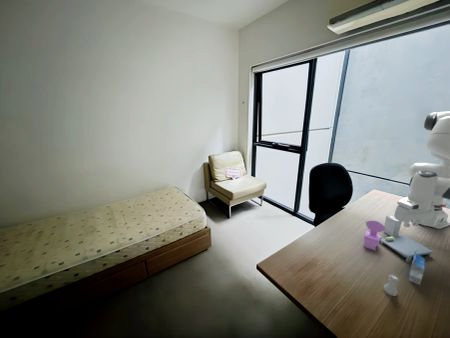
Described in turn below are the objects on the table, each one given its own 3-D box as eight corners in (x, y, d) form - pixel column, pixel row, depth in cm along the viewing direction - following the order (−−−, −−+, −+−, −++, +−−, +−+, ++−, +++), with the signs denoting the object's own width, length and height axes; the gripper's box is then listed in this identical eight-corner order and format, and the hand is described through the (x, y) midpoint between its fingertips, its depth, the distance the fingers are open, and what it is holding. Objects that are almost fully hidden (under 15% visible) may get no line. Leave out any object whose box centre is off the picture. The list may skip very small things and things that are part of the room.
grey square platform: (400, 239, 110) (402, 233, 109) (434, 259, 95) (436, 253, 94) (376, 242, 107) (377, 237, 106) (406, 263, 92) (408, 257, 91)
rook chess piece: (380, 287, 80) (384, 272, 78) (389, 286, 80) (394, 271, 78) (389, 297, 76) (394, 281, 74) (399, 296, 76) (405, 280, 74)
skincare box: (398, 238, 111) (403, 220, 107) (391, 239, 110) (396, 221, 107) (387, 232, 117) (392, 215, 113) (381, 233, 116) (386, 215, 113)
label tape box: (420, 286, 80) (428, 263, 77) (407, 280, 83) (414, 257, 80) (420, 274, 86) (428, 252, 83) (408, 269, 89) (415, 247, 86)
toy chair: (359, 247, 104) (365, 223, 100) (362, 239, 110) (367, 217, 106) (378, 254, 99) (385, 229, 95) (380, 245, 105) (386, 222, 101)
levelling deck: (403, 236, 108) (404, 232, 107) (432, 253, 95) (434, 248, 94) (379, 240, 106) (380, 236, 105) (405, 258, 93) (407, 253, 92)
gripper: (427, 198, 99) (419, 220, 103) (394, 201, 96) (388, 224, 100) (442, 203, 93) (433, 227, 97) (408, 207, 90) (401, 231, 94)
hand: (410, 226), depth 98 cm, fingers open, 4 cm apart
